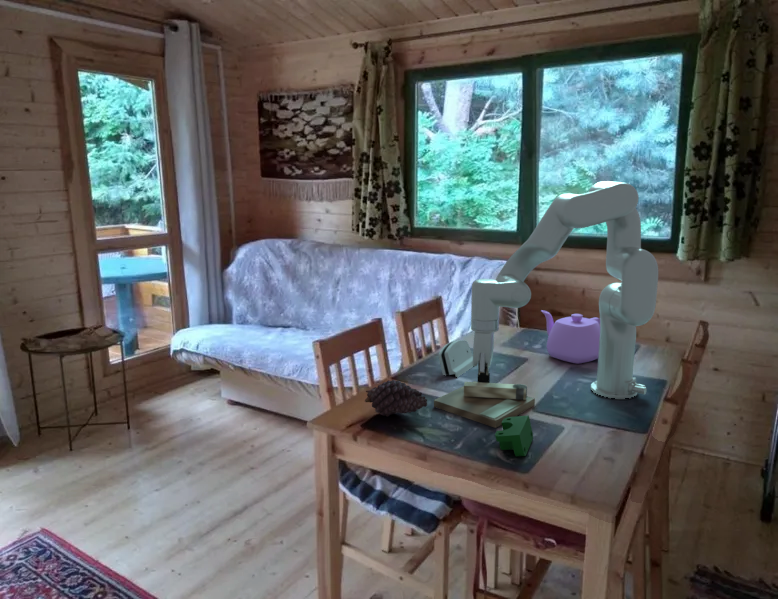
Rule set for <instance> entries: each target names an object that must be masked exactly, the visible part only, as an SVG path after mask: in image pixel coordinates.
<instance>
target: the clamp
mask: <svg viewBox="0 0 778 599" xmlns="http://www.w3.org/2000/svg"><path fill="white" fill-rule="evenodd" d="M531 424H532V423H531V419H530V415H519V416H518V415H517V416H515V417H507V418H505V419H503V421H502V425H501V427H502V428H501V429H502V430H496V432H495V433H494V437H495V440H496V442H498V444H499V449H500V450H501V451H505V450H506V451H508V450H513V452H514V453H513V454H514V456H515V457H526V456H527V454H528V451H529V450H530V447H531V445H532V442H533V440H534V433H533V428H532V425H531Z"/></svg>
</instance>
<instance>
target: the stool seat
mask: <svg viewBox="0 0 778 599" xmlns="http://www.w3.org/2000/svg"><path fill="white" fill-rule="evenodd" d="M473 382H477V381H476V380H473ZM535 405H536V399H535V398H534V397H531V396H528V395H527V398H526V400H517V399H505V398H488V397H471V396H464V385H463V386H461V387H459V388H457V389H455V390H451V391H450V392H448V393H446V394H444V395H442V396H440V397H437V398H436V399H434V400H433V407H434V408H436V407H437V408H436V409H438V408H439V410H441V409H442V411H444V410H445V412H448V413H450V414H453V415H456V416H458V417H462V418H465V419H467V420H471V421H474V422H478V423H480V424H483V425H486V426H489V427H492V428H494V429H497V428H498V427H500V426H502V421H503V419H505V418H507V417H515V416H518V415H519V416H520V415H521V414H522V413H524V412H525V411H527V410H529V409H530V408H532V407H534V406H535Z"/></svg>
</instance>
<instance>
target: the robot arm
mask: <svg viewBox="0 0 778 599" xmlns="http://www.w3.org/2000/svg"><path fill="white" fill-rule="evenodd" d="M638 204H639V193H638V191H637V189H636V188H635V186H633V185H632V184H630V183H627V182H623V181H622V182H621V181H610V180H607V181H605V180H604V181H598V182H596V183H594V184H593V185H592V186H591V187H590V189H589V191H588V192H585V193H581V194H580V193H579V194H577V193H562V194H559V195H558V196H556V197H555V198H554V200H553V201H552V202H551V204H549V206H548V208H547V209H546V211H545V213H544V214H543V216H542V217H541V219H540V220H539V222H538V224H537V225H536V227H535V228H534V229H533V231H532V233H531V234H530V235H529V237H528V238H527V239H526V241H525V242H523V243H522V245H520V246H519V247H518V248H517V250H516V251H515V252H513V254H511V255H510V257H509V258H508V259H507V261H506V262H505V264H504V265H503V267H502V268H501V269H500V271H499V273H498V275H497V276H496V278H495V279H493V278H478V279H475V280H473V282H472V283H471V305H470V306H471V308H470V309H471V310H470V311H471V312H470V315H471V316H470V330H471V332H473V341H472V343H473V345H472V355H473V363H472V365H473V366H474V367H477V366H478V368H477V370H478V371H477V372H478V373H477V382H481V383H491V382H490V381H491V380H490V379H491V375H490V374H491V373H490V367H491V366H492V365H491V364H492V361H493V357H494V347H495V333H497V332H498V331H499V330H500V329H499V328H500V323H499V322H500V308H501V307H502V308H503V307H504V308H511V309H512V308H513V309H517V308H522V307H525V306H526V305H527V304H528V303H529V302H530V300H531V298H532V291H531V288H530V287H529V286H528V284H527V283H526V282H525V280H526V278H527V277H528V275H529V274H530V273H531V272H532V271H533V270H534V269H535V268H537V266H539V265H540V264H542V263H544V262H547V261H549V260H551V259H553V258H554V257H555V256H557V254H558V253H559V251H560V250H561V248H562V246H564V244H565V242H566V241H567V239H568V237H569V236H570V234H571V233H572V232H573V230H574V229H584V228H589V227H593V226H596V225H601V224H603V223H605V224H606V230H607V231H606V232H607V235H606V236H607V239H606V253H605V254H606V255H605V269H606V271H607V273H608V274H609V276H611V277H613V278H615V279H617V280H619V281H621V282H612V283H609V284H607V285H606V286H605V287H604V288H603V289H602V290H601V292H600V294H599V298H598V310H599V319H600V325H599V326H600V338H599V353H598V358H597V369H596V370H597V371H596V380H595V381H593V382H592V383H591V384H590V390H592V391H593V392H592V391H591V392H592V393H594V394H595V393H596V394H595V395H597V394H598V395H597V396H599V395H601V396H600V397H602V396H604V397H603V398H606V397H608V398H607V399H611V398H615V399H614V400H626V399H625V398H629V399H632V398H631V397H633V398H635V397H636V396H638V394H641V395H646V393H647V387H646V385H645V384H641V383H638V382H637V377H635V376H634V374H633V373H634V365H635V364H634V362H635V350H636V340H637V327H639V326H644V325H646V324H647V323H648V322H650V321H651V319H652V318H653V316H654V314H655V310H656V306H657V298H658V297H657V294H658V282H659V265H658V262H657V260H656V257H655V256H654V254H653V253H651V252H650V251H648V250H646V249H643V248H642V223H641V217H640V215H639V211H638V210H637V206H638ZM474 367H473V368H474ZM633 376H634V377H633ZM634 396H635V397H634Z"/></svg>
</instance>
